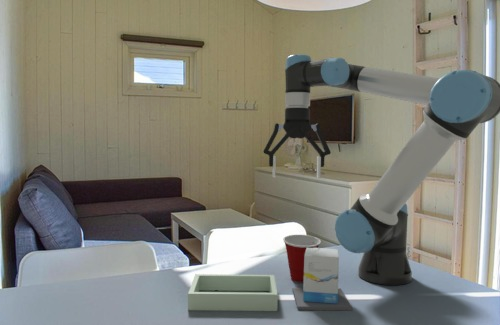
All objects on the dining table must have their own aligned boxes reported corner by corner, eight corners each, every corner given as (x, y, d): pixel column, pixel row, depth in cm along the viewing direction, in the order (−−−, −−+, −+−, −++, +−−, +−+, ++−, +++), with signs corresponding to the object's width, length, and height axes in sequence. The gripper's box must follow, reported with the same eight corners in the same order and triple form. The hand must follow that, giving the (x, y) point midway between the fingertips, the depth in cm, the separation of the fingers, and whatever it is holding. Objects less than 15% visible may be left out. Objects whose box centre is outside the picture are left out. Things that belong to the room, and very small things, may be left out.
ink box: (337, 304, 109) (339, 257, 108) (302, 301, 110) (303, 255, 110) (337, 292, 117) (338, 248, 117) (305, 290, 119) (305, 246, 118)
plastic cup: (289, 287, 123) (290, 244, 123) (277, 275, 134) (278, 235, 133) (326, 284, 126) (327, 242, 125) (311, 272, 136) (312, 233, 136)
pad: (340, 291, 120) (340, 288, 120) (351, 310, 107) (351, 307, 107) (292, 290, 120) (292, 287, 120) (297, 309, 107) (297, 306, 107)
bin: (273, 289, 121) (274, 275, 121) (277, 311, 107) (277, 294, 106) (195, 288, 121) (195, 274, 121) (187, 310, 106) (187, 293, 106)
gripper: (336, 108, 140) (334, 176, 141) (256, 107, 139) (255, 176, 141) (341, 107, 132) (339, 179, 133) (256, 106, 132) (255, 178, 133)
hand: (296, 177), depth 137 cm, fingers open, 13 cm apart
